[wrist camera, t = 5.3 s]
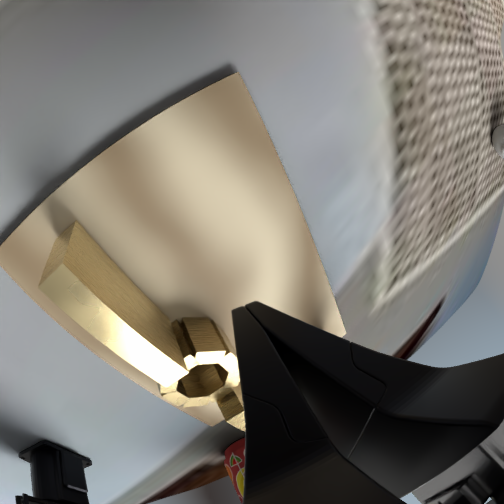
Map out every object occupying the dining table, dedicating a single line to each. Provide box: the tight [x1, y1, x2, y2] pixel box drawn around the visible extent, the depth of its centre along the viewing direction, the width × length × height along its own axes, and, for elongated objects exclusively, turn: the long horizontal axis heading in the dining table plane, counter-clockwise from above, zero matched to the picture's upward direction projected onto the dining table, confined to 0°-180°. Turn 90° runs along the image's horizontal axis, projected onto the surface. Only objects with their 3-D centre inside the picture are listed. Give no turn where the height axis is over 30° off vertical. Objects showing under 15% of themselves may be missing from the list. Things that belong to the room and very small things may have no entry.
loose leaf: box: [38, 220, 189, 387], centre depth 13 cm, size 2×8×4 cm, turn 27°
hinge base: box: [156, 317, 245, 432], centre depth 19 cm, size 5×13×5 cm, turn 26°
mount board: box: [0, 72, 346, 426], centre depth 19 cm, size 16×24×1 cm, turn 26°
